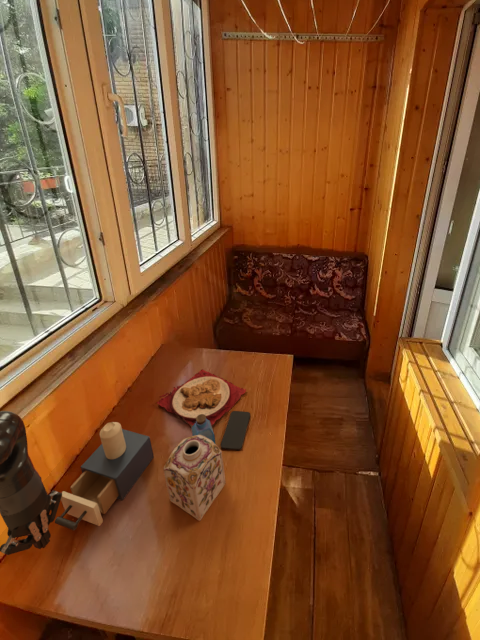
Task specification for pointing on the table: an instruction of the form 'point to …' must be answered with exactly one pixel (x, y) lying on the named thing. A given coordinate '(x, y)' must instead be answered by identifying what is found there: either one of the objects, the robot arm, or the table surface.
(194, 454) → the decorative jar
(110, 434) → the candle
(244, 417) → the phone
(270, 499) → the table surface
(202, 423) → the perfume bottle
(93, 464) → the cabinet
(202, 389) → the plate with food
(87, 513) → the drawer
